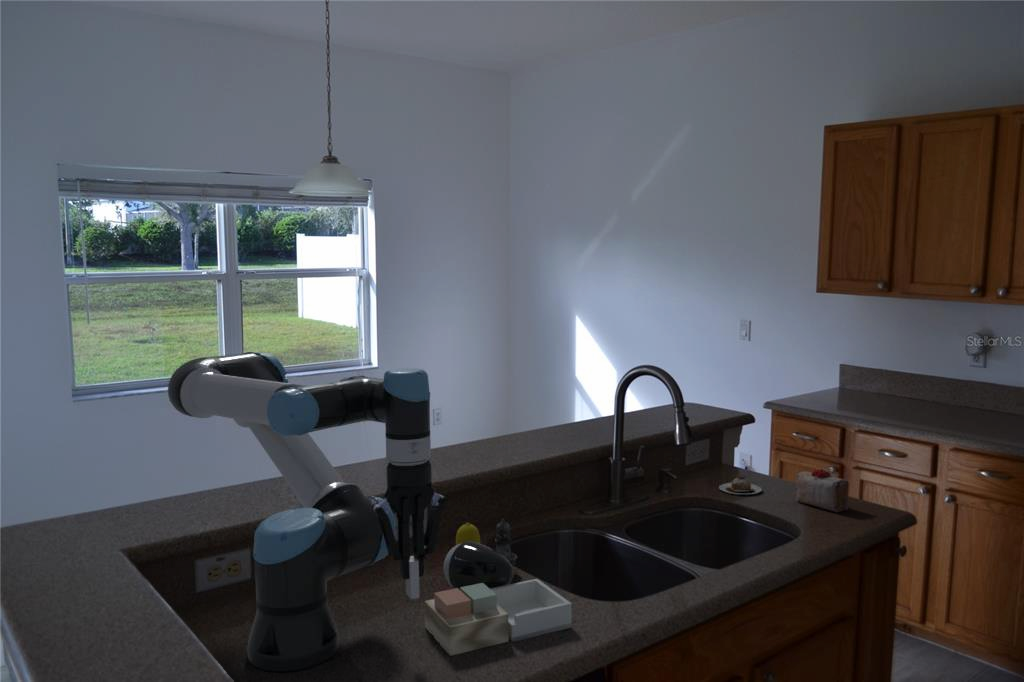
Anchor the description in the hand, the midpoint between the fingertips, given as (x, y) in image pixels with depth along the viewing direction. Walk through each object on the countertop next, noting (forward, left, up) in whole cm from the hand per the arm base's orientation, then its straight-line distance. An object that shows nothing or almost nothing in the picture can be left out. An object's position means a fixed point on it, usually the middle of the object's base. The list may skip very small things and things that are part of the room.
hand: (412, 595), depth 136 cm
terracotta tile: (+7, 0, -4) cm, 9 cm away
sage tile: (+12, 0, -4) cm, 13 cm away
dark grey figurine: (+28, +23, -10) cm, 38 cm away
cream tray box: (+10, 0, -9) cm, 14 cm away
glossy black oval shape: (+16, +21, -5) cm, 27 cm away
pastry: (+116, +46, -10) cm, 126 cm away
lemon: (+25, +35, -10) cm, 44 cm away
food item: (+125, +25, -10) cm, 128 cm away
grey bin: (+22, 0, -9) cm, 24 cm away
